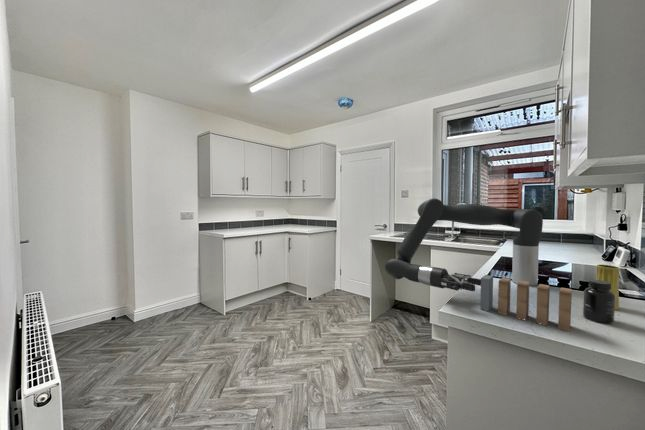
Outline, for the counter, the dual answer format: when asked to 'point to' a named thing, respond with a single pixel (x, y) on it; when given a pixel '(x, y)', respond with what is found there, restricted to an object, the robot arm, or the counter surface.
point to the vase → (610, 279)
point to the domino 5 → (565, 308)
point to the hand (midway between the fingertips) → (478, 285)
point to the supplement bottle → (599, 302)
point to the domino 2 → (504, 296)
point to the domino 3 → (522, 300)
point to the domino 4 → (543, 304)
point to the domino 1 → (486, 292)
